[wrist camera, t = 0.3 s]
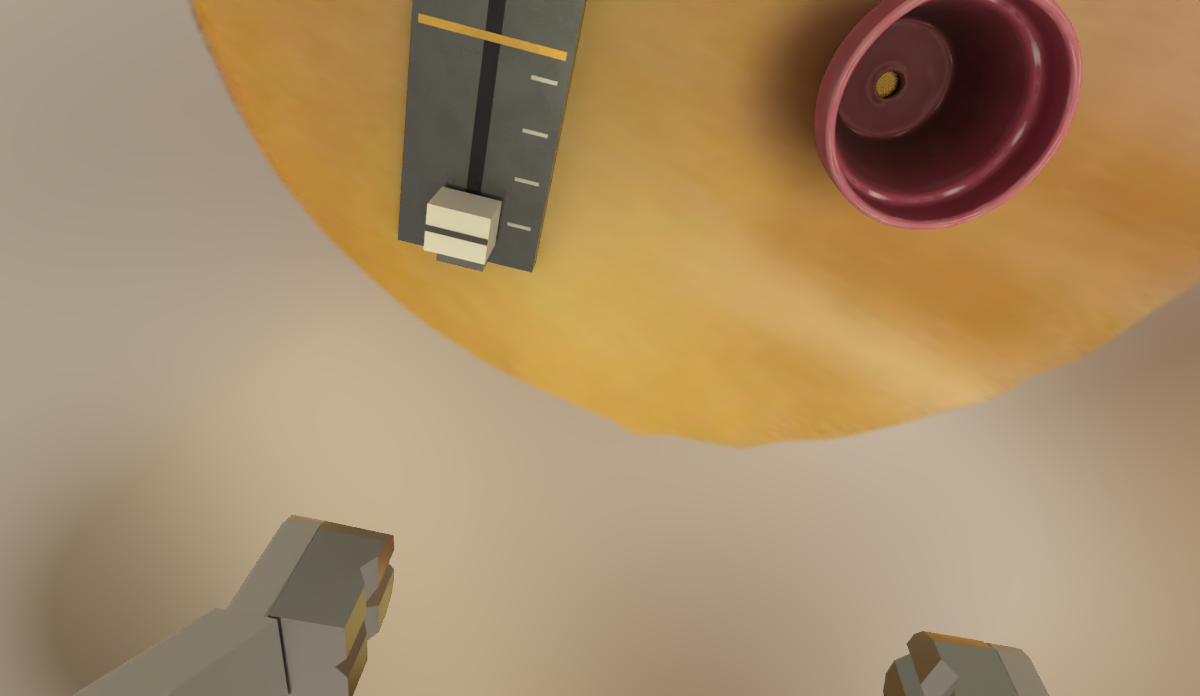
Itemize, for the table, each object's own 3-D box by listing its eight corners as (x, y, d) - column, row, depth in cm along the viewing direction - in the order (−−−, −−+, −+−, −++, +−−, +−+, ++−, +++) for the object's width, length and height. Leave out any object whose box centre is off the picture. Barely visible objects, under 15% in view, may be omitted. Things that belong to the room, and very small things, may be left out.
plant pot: (805, -34, 45) (850, -23, 34) (1016, -36, 44) (1130, -26, 33) (777, 170, 53) (807, 230, 42) (956, 172, 52) (1034, 234, 41)
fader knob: (442, 186, 53) (427, 203, 50) (501, 201, 53) (490, 219, 50) (437, 230, 55) (422, 250, 52) (495, 244, 56) (484, 265, 52)
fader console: (427, -81, 45) (408, -82, 42) (593, -35, 46) (588, -33, 43) (405, 230, 58) (390, 248, 55) (535, 262, 59) (528, 282, 56)
